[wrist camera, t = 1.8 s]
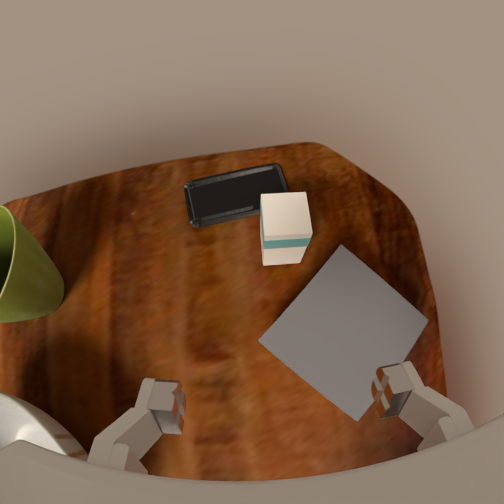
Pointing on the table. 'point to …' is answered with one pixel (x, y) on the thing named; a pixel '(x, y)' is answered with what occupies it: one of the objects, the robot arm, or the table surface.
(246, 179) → the phone
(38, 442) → the decorative bowl
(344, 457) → the table surface
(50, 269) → the flower pot
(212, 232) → the table surface
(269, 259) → the carton
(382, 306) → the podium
